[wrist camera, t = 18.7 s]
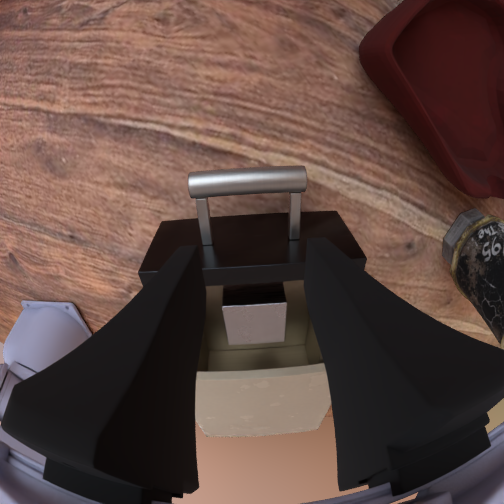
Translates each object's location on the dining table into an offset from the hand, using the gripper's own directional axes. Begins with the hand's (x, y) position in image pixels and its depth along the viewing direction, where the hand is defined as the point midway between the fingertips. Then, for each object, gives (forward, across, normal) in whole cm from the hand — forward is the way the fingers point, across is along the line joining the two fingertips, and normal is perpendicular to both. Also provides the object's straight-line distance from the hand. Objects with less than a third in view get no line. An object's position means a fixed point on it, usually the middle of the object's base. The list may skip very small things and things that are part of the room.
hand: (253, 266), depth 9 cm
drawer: (+10, 0, +8) cm, 12 cm away
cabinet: (+10, 0, +20) cm, 23 cm away
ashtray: (+11, -15, -9) cm, 20 cm away
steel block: (+8, 0, +8) cm, 12 cm away
